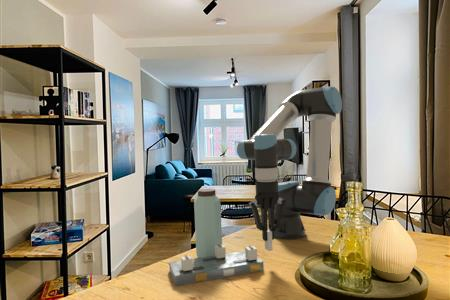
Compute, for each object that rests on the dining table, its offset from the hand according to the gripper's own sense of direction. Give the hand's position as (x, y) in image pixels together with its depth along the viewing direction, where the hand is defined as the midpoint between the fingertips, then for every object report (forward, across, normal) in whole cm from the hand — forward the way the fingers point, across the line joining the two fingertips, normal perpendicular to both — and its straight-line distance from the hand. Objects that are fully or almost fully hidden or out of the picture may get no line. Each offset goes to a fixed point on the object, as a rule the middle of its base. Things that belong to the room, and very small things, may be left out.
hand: (268, 249), depth 114 cm
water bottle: (+6, +17, -16) cm, 24 cm away
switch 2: (+2, +15, -6) cm, 17 cm away
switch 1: (+2, +28, 0) cm, 28 cm away
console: (+6, +18, -3) cm, 19 cm away
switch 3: (+2, +6, 0) cm, 7 cm away
